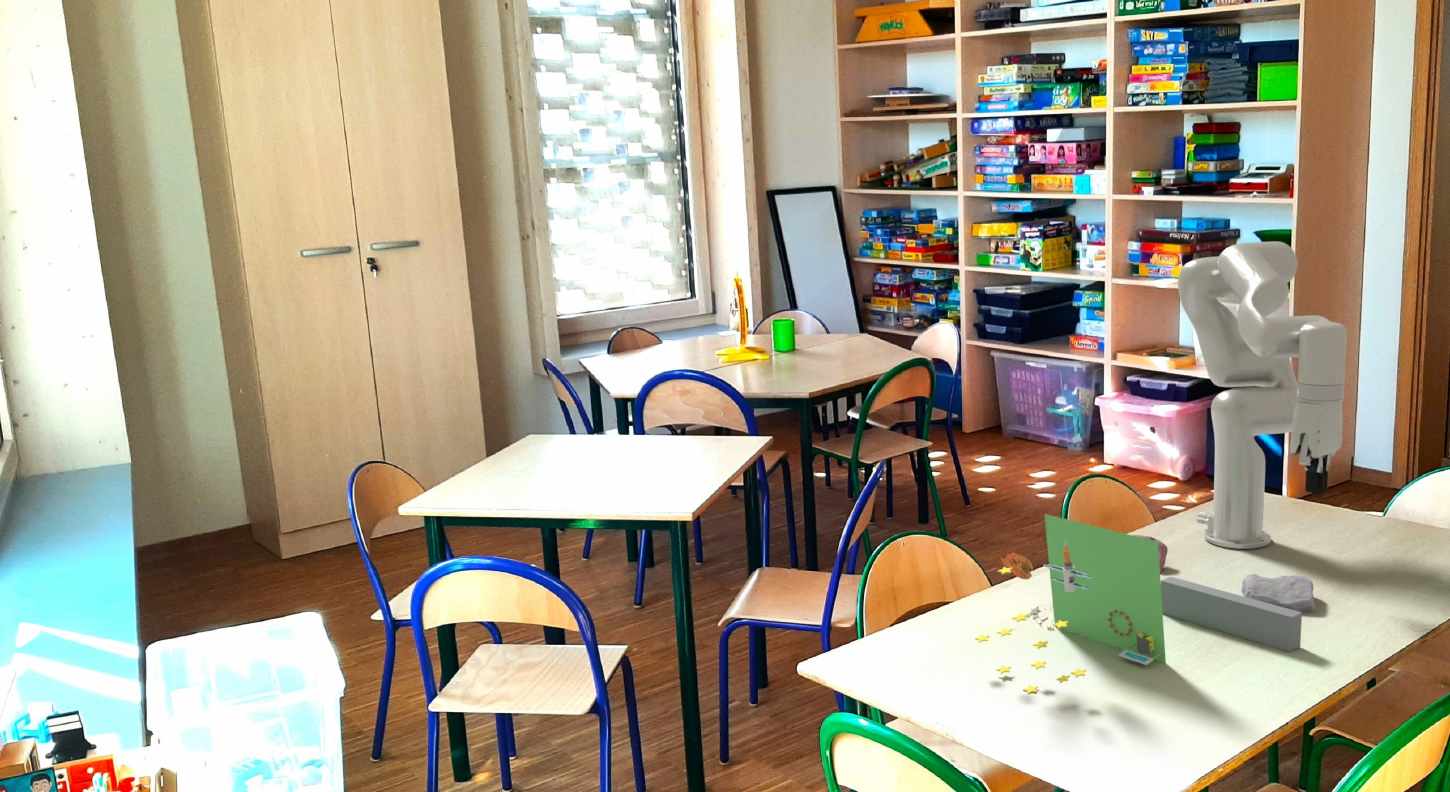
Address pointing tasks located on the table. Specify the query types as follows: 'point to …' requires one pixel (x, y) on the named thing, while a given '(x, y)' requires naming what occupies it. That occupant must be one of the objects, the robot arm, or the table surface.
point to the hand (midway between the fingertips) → (1316, 491)
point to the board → (1232, 613)
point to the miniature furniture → (1035, 609)
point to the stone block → (1281, 591)
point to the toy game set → (1100, 589)
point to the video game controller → (1161, 549)
